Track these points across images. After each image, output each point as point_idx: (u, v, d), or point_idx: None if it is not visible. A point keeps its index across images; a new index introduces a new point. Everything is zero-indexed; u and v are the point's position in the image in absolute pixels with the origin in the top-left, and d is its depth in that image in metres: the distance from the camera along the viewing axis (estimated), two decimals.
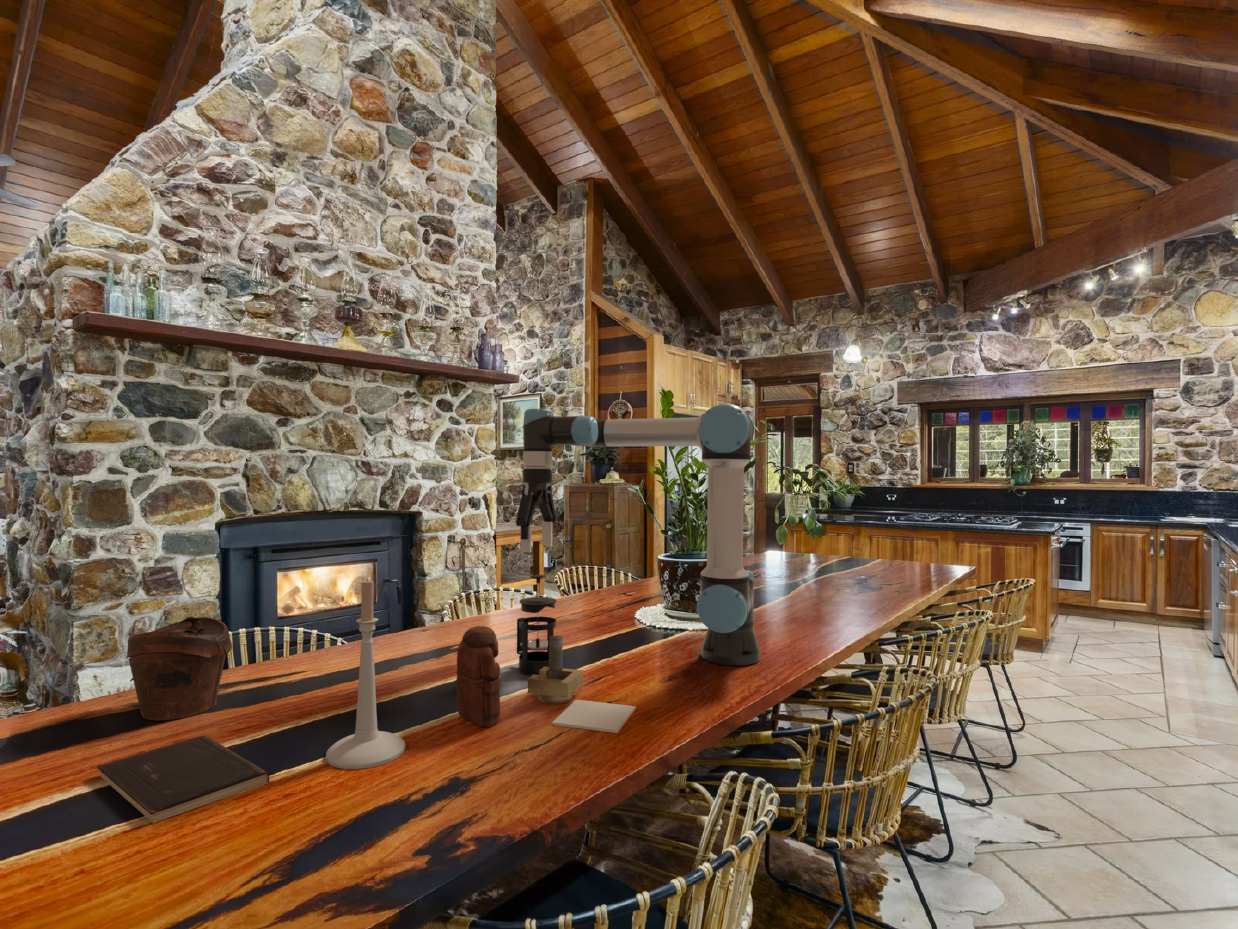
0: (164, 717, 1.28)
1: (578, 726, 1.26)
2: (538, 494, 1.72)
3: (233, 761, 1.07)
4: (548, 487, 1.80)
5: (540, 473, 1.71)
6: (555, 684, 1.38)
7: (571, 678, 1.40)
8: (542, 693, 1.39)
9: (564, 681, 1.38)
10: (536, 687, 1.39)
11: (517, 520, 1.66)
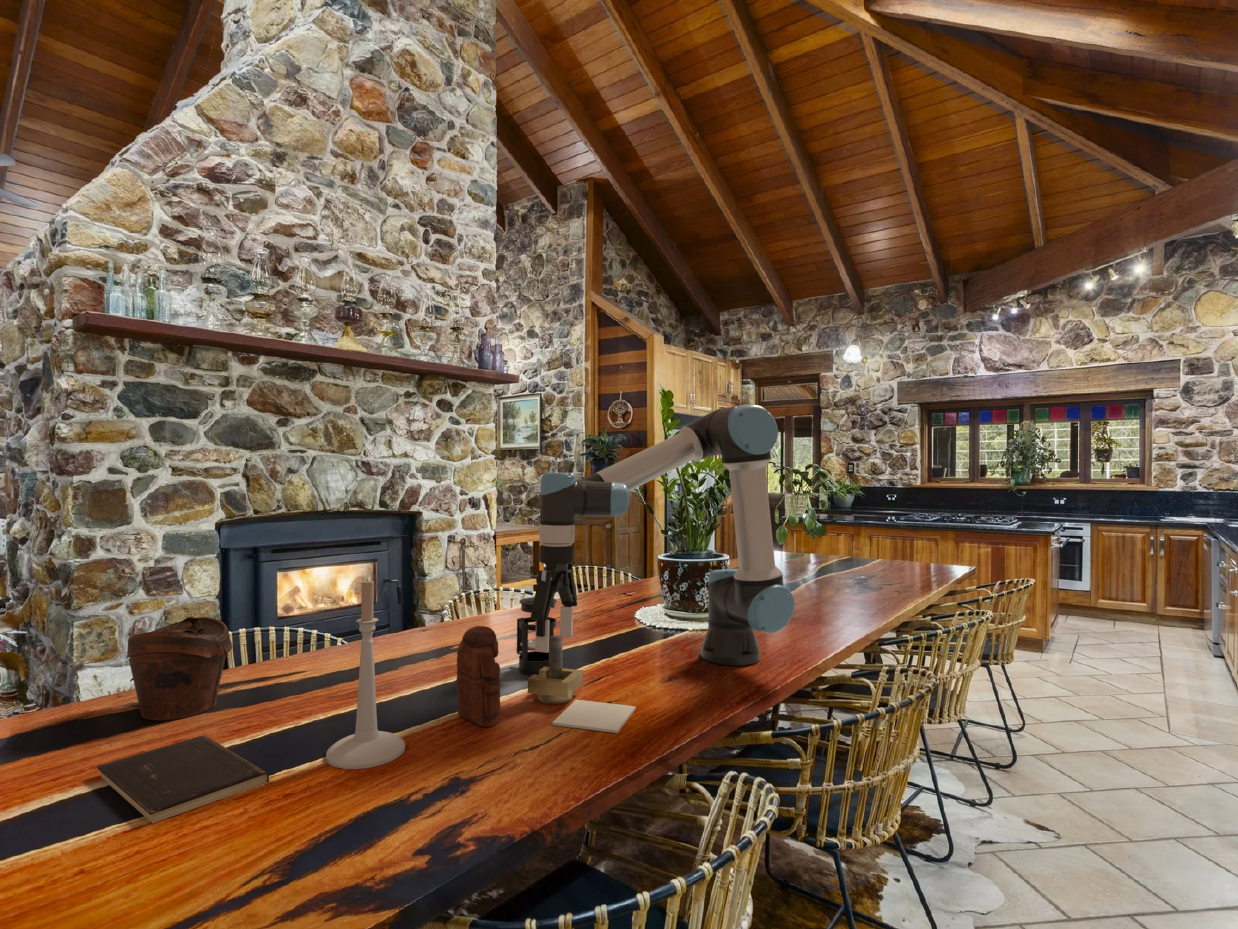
0: (164, 717, 1.28)
1: (578, 726, 1.26)
2: (557, 578, 1.40)
3: (233, 761, 1.07)
4: (568, 565, 1.48)
5: (560, 553, 1.39)
6: (555, 684, 1.38)
7: (571, 678, 1.40)
8: (542, 693, 1.39)
9: (564, 681, 1.38)
10: (536, 687, 1.39)
11: (532, 614, 1.33)
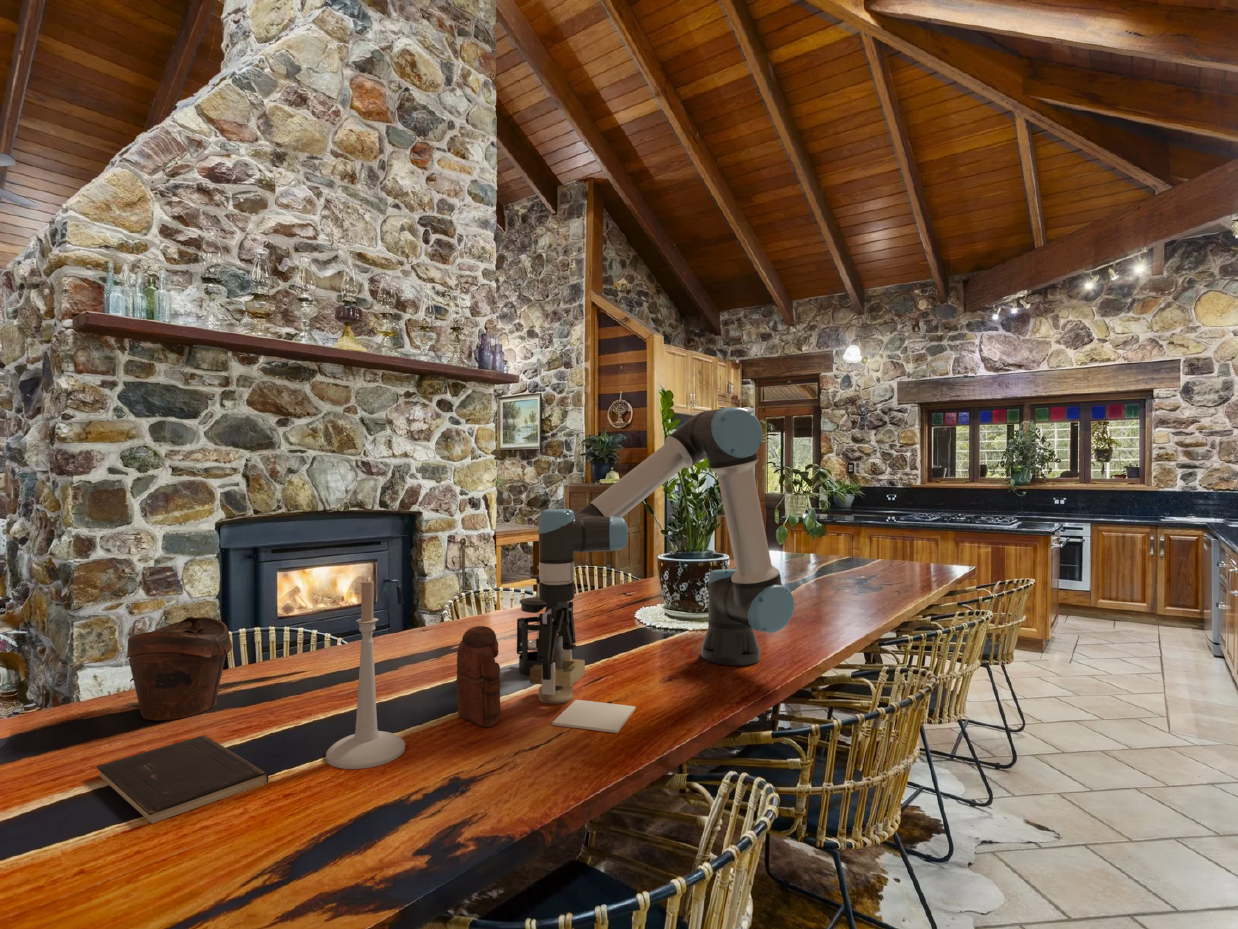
0: (164, 717, 1.28)
1: (578, 726, 1.26)
2: (559, 617, 1.40)
3: (233, 762, 1.07)
4: (569, 603, 1.48)
5: (560, 591, 1.39)
6: (557, 674, 1.38)
7: (573, 668, 1.40)
8: None
9: (566, 671, 1.38)
10: (539, 677, 1.39)
11: (538, 659, 1.35)
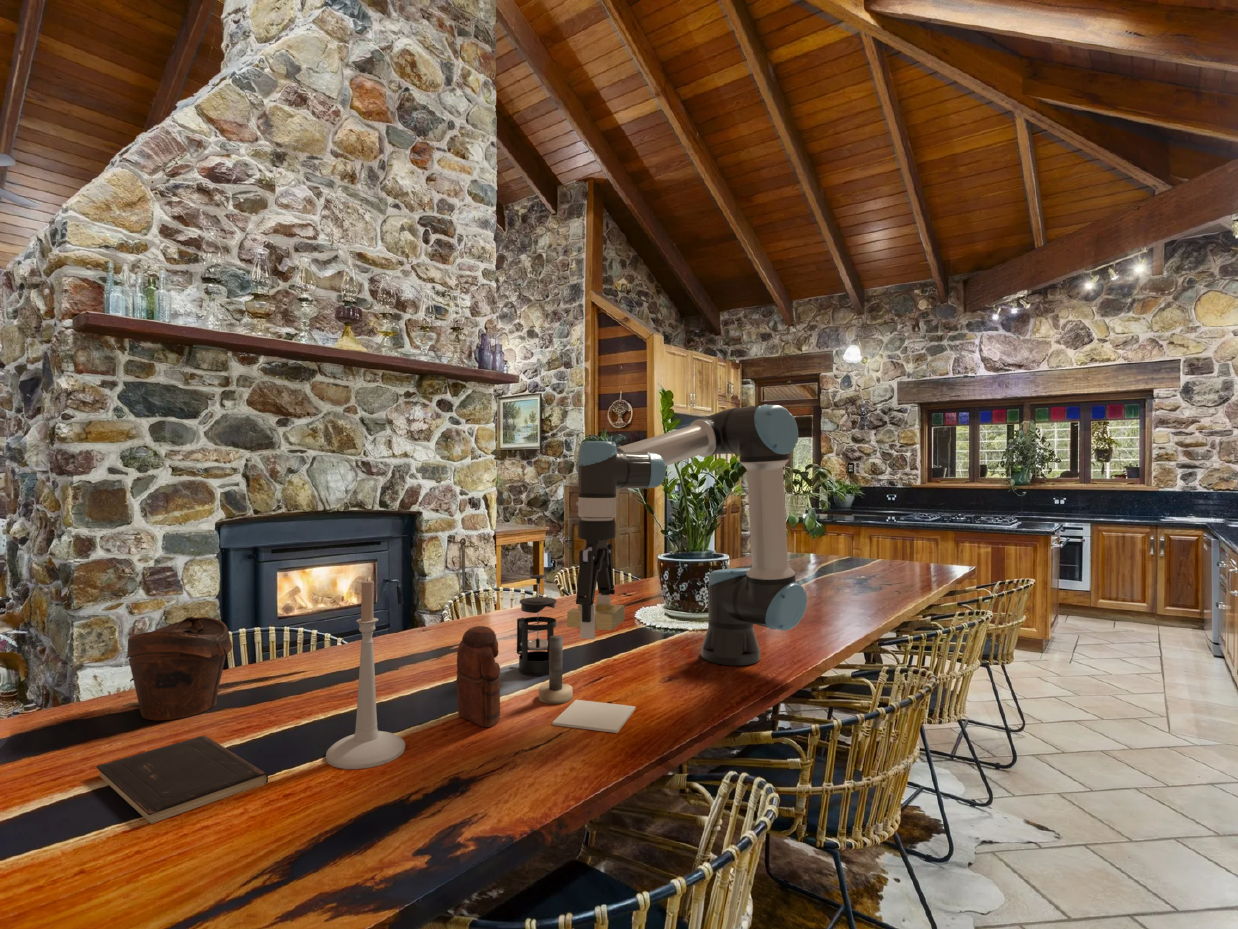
0: (164, 717, 1.28)
1: (578, 726, 1.26)
2: (599, 556, 1.30)
3: (232, 762, 1.07)
4: (608, 545, 1.38)
5: (602, 527, 1.29)
6: (597, 616, 1.28)
7: (614, 611, 1.30)
8: None
9: (607, 613, 1.28)
10: (577, 620, 1.29)
11: (578, 599, 1.25)
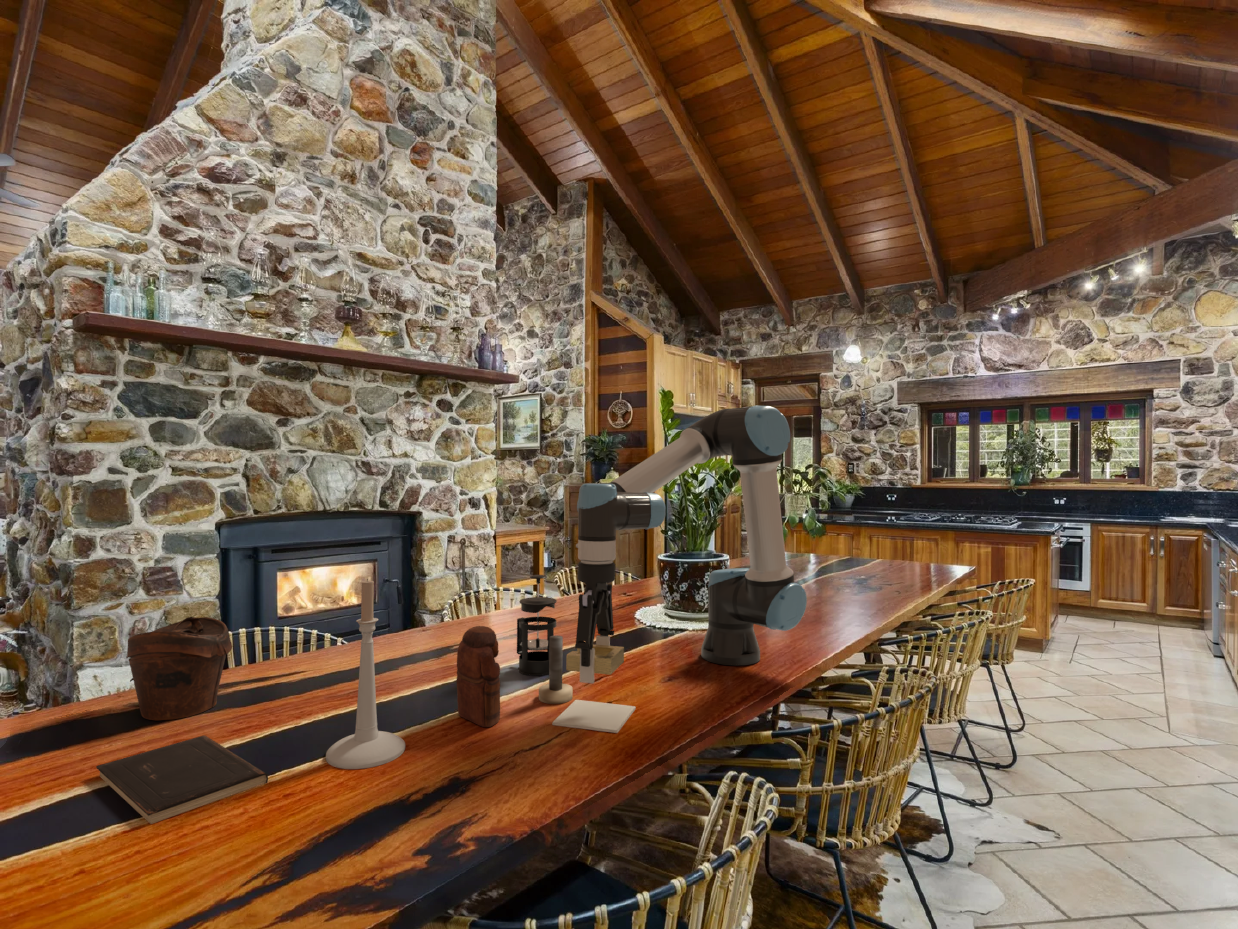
0: (164, 717, 1.28)
1: (578, 726, 1.26)
2: (599, 599, 1.30)
3: (232, 762, 1.07)
4: (608, 586, 1.38)
5: (601, 571, 1.29)
6: (597, 660, 1.27)
7: (613, 654, 1.30)
8: None
9: (606, 657, 1.28)
10: (576, 663, 1.29)
11: (577, 643, 1.25)
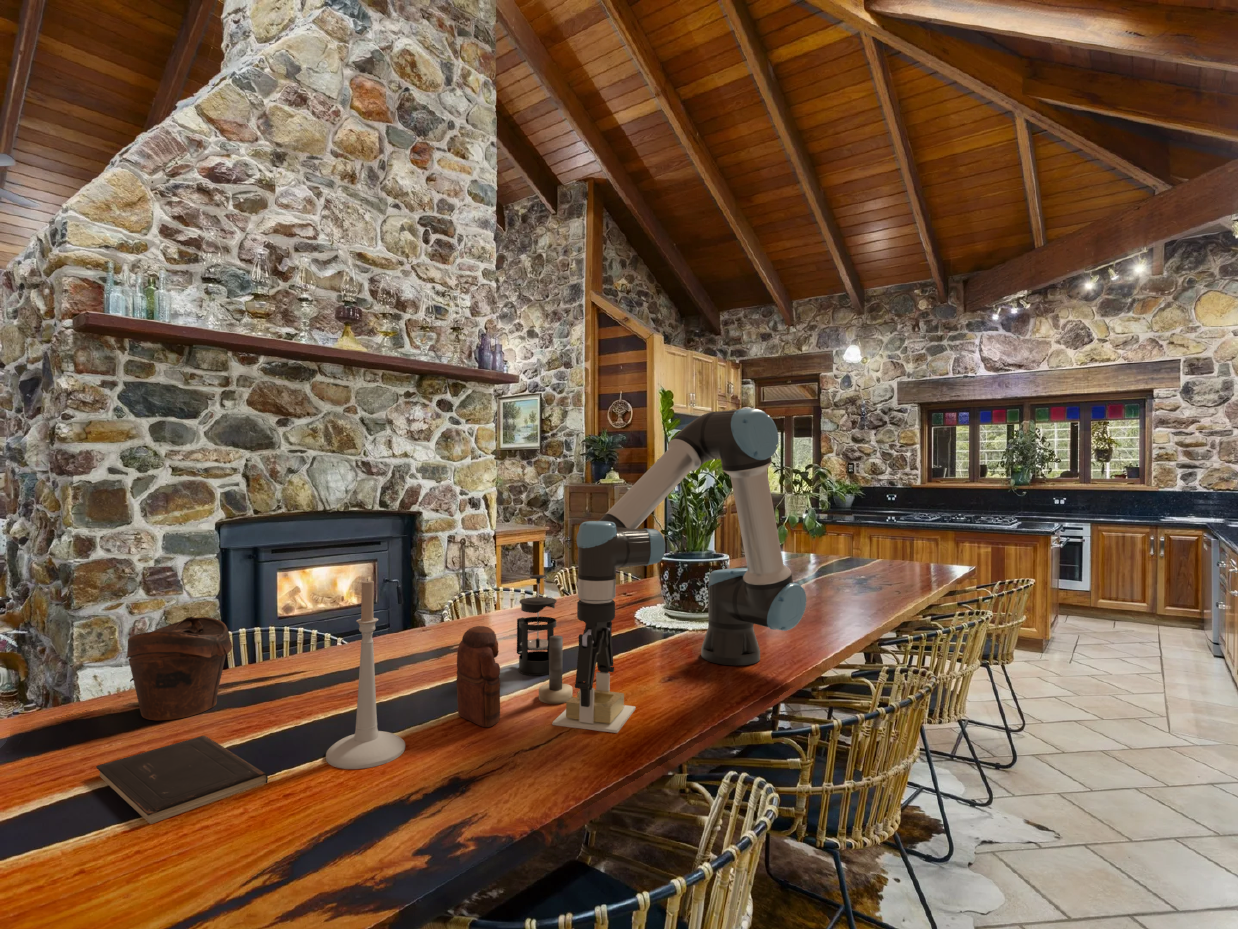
0: (164, 717, 1.28)
1: (578, 726, 1.26)
2: (598, 638, 1.30)
3: (232, 762, 1.07)
4: (608, 623, 1.38)
5: (601, 610, 1.29)
6: (596, 708, 1.27)
7: (613, 702, 1.30)
8: None
9: (606, 705, 1.28)
10: (576, 711, 1.29)
11: (577, 684, 1.25)
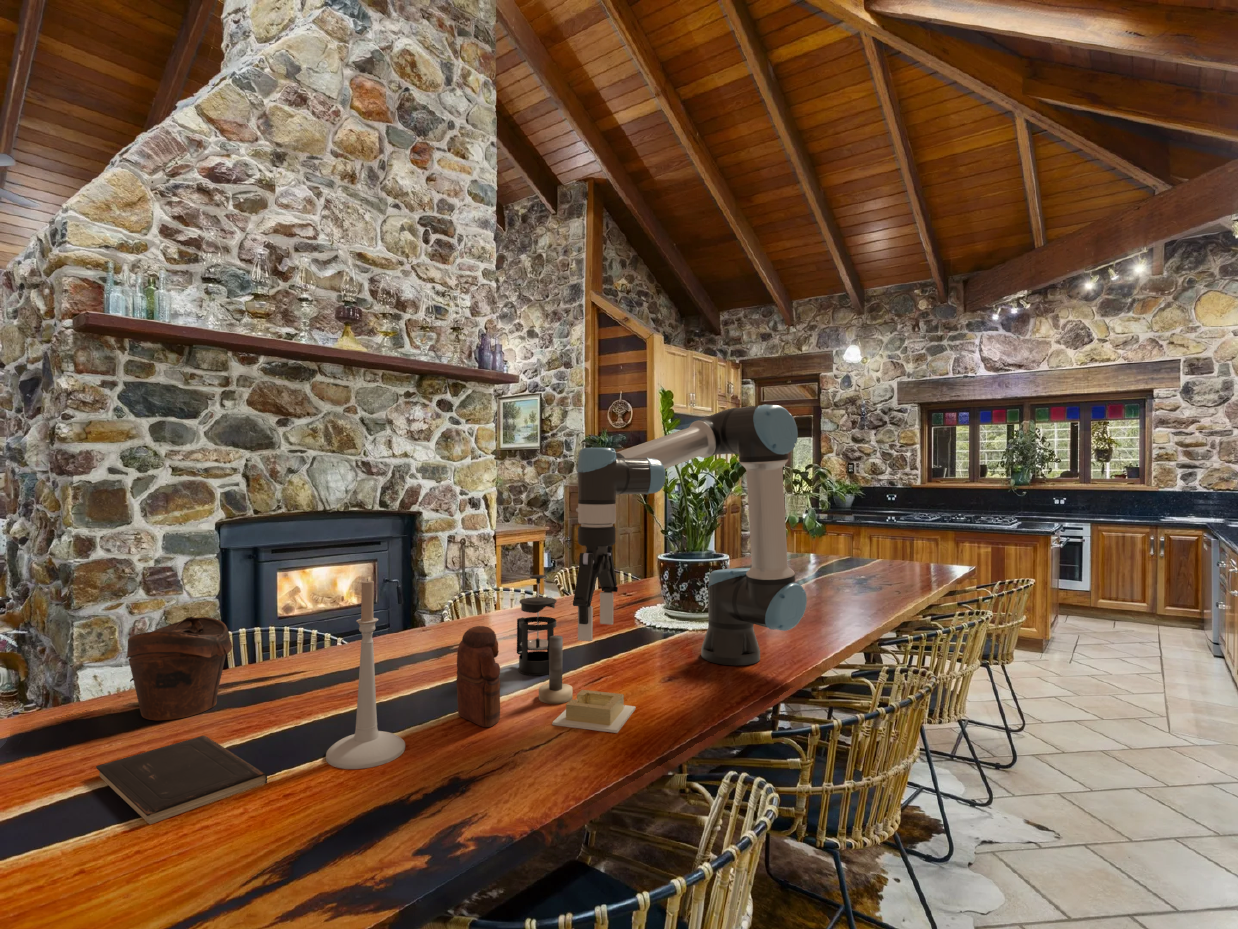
0: (164, 717, 1.28)
1: (578, 726, 1.26)
2: (599, 561, 1.30)
3: (232, 762, 1.07)
4: (608, 548, 1.38)
5: (602, 534, 1.29)
6: (596, 711, 1.27)
7: (613, 704, 1.30)
8: (582, 720, 1.28)
9: (606, 707, 1.28)
10: (576, 713, 1.29)
11: (575, 600, 1.23)
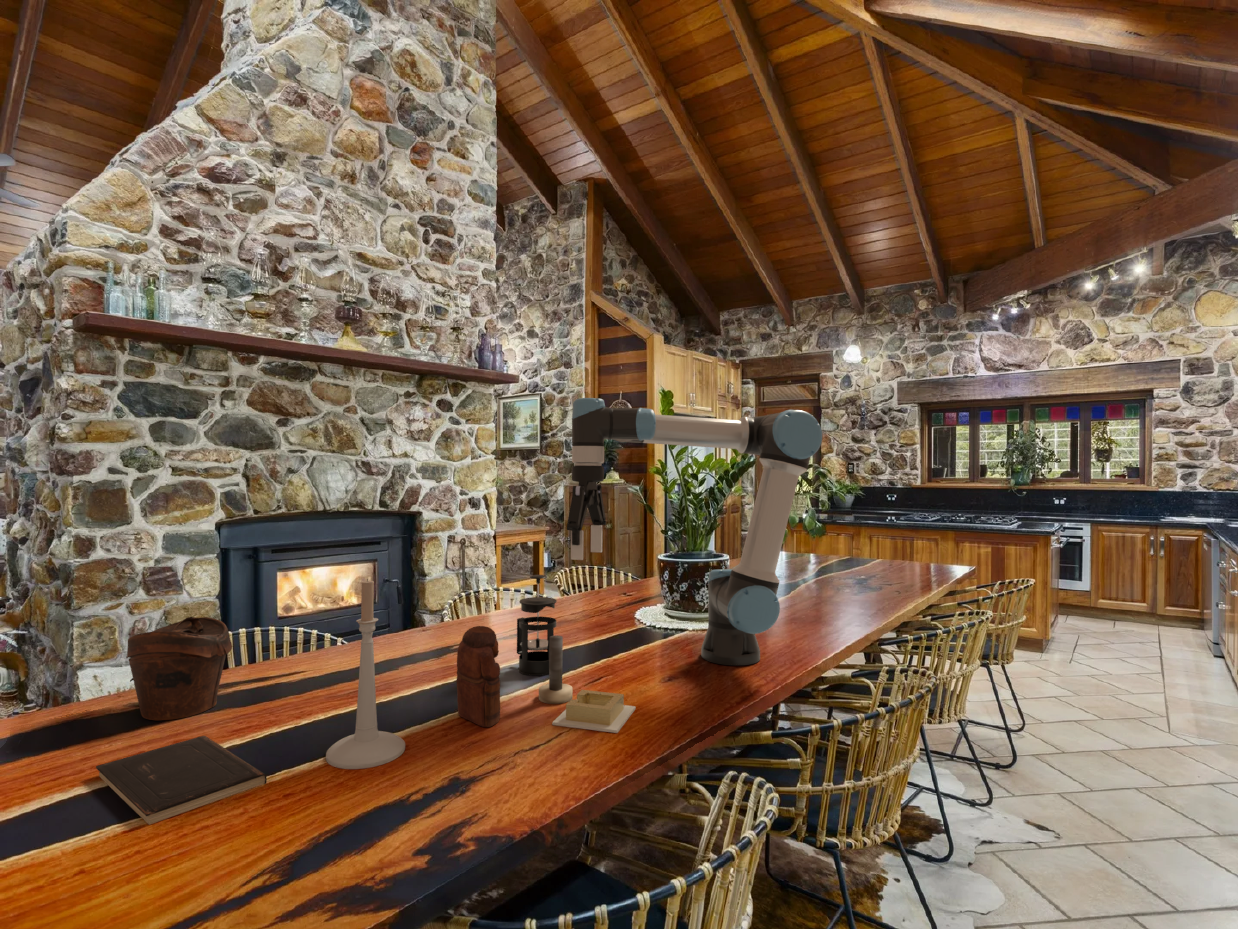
0: (164, 717, 1.28)
1: (578, 726, 1.26)
2: (589, 494, 1.53)
3: (231, 762, 1.07)
4: (598, 486, 1.61)
5: (592, 471, 1.52)
6: (596, 711, 1.27)
7: (613, 704, 1.30)
8: (582, 720, 1.28)
9: (606, 707, 1.28)
10: (576, 713, 1.29)
11: (568, 523, 1.46)
